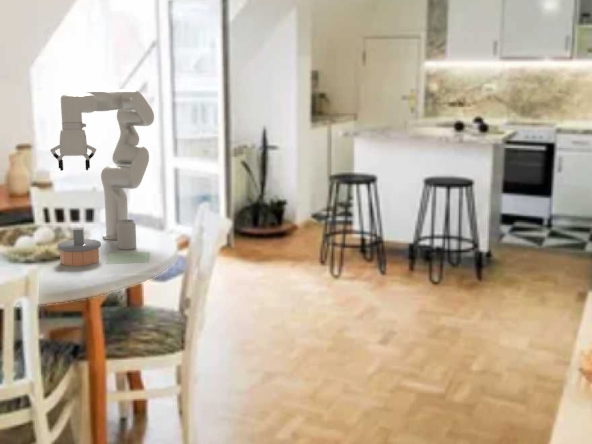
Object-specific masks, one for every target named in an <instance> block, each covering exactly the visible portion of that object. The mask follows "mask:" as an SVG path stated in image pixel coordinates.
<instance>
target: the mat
mask: <svg viewBox="0 0 592 444" xmlns="http://www.w3.org/2000/svg"><path fill="white" fill-rule="evenodd" d="M149 262H150V251H140V252H136V251H135V252H134V251H133V252H109V253H108V254H107V257H106V262H105V265H110V264H111V265H112V264H115V265H116V264H135V263H136V264H138V263H139V264H142V263H144V264H145V263H149Z"/></svg>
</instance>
